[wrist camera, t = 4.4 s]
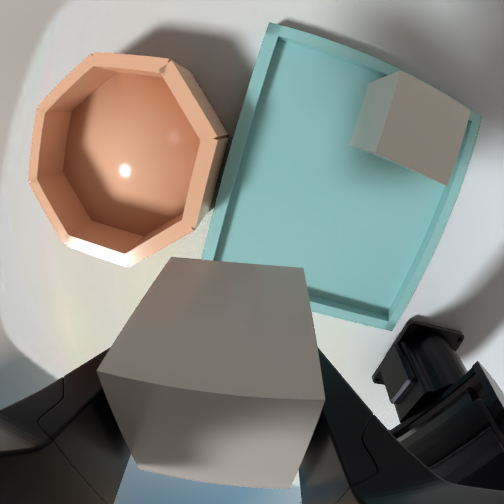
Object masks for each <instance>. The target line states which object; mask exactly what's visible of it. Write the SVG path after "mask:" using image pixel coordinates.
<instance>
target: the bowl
mask: <svg viewBox="0 0 504 504" xmlns="http://www.w3.org/2000/svg"><path fill="white" fill-rule="evenodd" d="M38 106H39V108H37V111H36V117H35V123H34V130H33V137H32V145H31V155H30V166H29V180H28V181H31V182H30V183H29V184H30V186H31V188H32V190H33V192H34V194H35V196H36V198H37V200H38V201H39V203H40V205H41V207H42V209H43V211H44V212H45V214H46V216H47V218H48V219H49V221H50V223H51V224H52V226H53V228H54V230H55V231H56V233H57V235H58V236H59V238H60V239H61V241H62V243H65V246H68V247H71V248H73V249H76V250H79V251H82V252H85V253H87V254H90V255H93V256H96V257H99V258H101V259H104V260H107V261H110V262H113V263H116V264H119V265H122V266H125V267H128V266H130V267H131V266H133V265H135V264H136V263H138V262H140V261H142V260H143V259H145V258H147V257H148V256H150V255H152V254H154V253H155V252H157V251H159V250H161V249H162V248H164V247H166V246H168V245H169V244H171V243H173V242H175V241H177V240H178V239H180V238H182V237H184V236H186V235H187V234H189V233H191V232H193V231H194V230H195V229H196V227H197V226H198V225H199V223H200V222H201V221H202V219H203V218H204V217H205V215H206V214H207V213H208V211H209V210H210V206H211V202H212V198H213V194H214V190H215V186H216V183H217V179H218V175H219V171H220V167H221V164H222V160H223V156H224V153H225V149H226V145H227V142H228V137H225V136H227V135H228V133H227V131H226V130H225V128H224V126H223V125H222V123H221V121H220V120H219V118H218V116H217V115H216V113H215V111H214V109H213V108H212V106H211V104H210V103H209V101H208V99H207V98H206V96H205V94H204V93H203V91H202V90H201V88H200V86H199V85H198V83H197V81H196V80H195V78H194V76H193V75H192V73H191V72H190V71H189V70H187V69H186V68H184V67H182V66H181V65H179V64H177V63H176V62H174V61H172V60H170V59H167V58H160V57H151V56H141V55H130V54H116V53H93V54H90V55H89V56H88V57H87V58H85V59H84V60H83V61H82V62H81V63H80V64H79V65H78V66H77V67H76V68H74V69H73V70H72V71H71V72H70V73H69V74H68V75H67V76H66V77H65V78H64V79H63V80H62V81H61V82H60V83H59V84H58V85H57V86H56V87H55V88H54V89H53V90H52V91H51V92H50V93H49V94H48V95H47V96H46V98H45V99H44V100H43V101H42V102H41V103H40V104H39V105H38Z"/></svg>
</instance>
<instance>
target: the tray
mask: <svg viewBox="0 0 504 504" xmlns="http://www.w3.org/2000/svg"><path fill="white" fill-rule="evenodd" d="M400 70H401V69H399V68H397V67H395V66H393V65H390V64H388V63H386V62H384V61H382V60H379V59H377V58H375V57H373V56H370V55H368V54H365V53H363V52H360V51H358V50H355V49H353V48H350V47H348V46H345V45H342V44H340V43H337V42H334V41H331V40H328V39H325V38H322V37H319V36H316V35H313V34H310V33H307V32H303V31H300V30H296V29H293V28H289V27H286V26H282V25H278V24H274V23H270V22H269V24H268V27H267V30H266V33H265V36H264V39H263V42H262V45H261V48H260V51H259V54H258V57H257V61H256V64H255V67H254V70H253V73H252V76H251V80H250V83H249V86H248V89H247V93H246V96H245V99H244V103H243V106H242V109H241V113H240V116H239V119H238V123H237V126H236V130H235V133H234V137H233V140H232V144H231V147H230V151H229V155H228V158H227V162H226V165H225V169H224V173H223V177H222V180H221V184H220V188H219V192H218V195H217V199H216V203H215V207H214V211H213V215H212V219H211V223H210V227H209V231H208V235H207V239H206V243H205V247H204V252H203V256H202V260H213V261H225V262H237V263H249V264H262V265H274V266H287V267H300V268H304V273H305V279H306V284H307V289H308V295H309V301H310V306H311V311H312V312H316V313H320V314H324V315H328V316H332V317H336V318H340V319H344V320H348V321H352V322H356V323H360V324H364V325H368V326H372V327H376V328H381V329H385V330H389V331H392V330H393V328H394V327H395V325H396V323H397V322H398V320H399V318H400V316H401V315H402V313H403V311H404V309H405V308H406V306H407V304H408V302H409V300H410V299H411V297H412V295H413V293H414V291H415V289H416V287H417V285H418V283H419V281H420V279H421V277H422V276H423V274H424V271H425V269H426V267H427V265H428V263H429V261H430V259H431V257H432V255H433V253H434V251H435V248H436V246H437V244H438V242H439V240H440V237H441V235H442V233H443V230H444V228H445V226H446V223H447V221H448V218H449V216H450V214H451V211H452V208H453V206H454V203H455V201H456V198H457V195H458V193H459V190H460V187H461V184H462V182H463V179H464V176H465V173H466V170H467V167H468V164H469V161H470V158H471V154H472V151H473V148H474V144H475V141H476V137H477V134H478V130H479V126H480V122H481V119H482V117H481V116H480V115H478V114H477V113H475V112H474V111H472V110H471V109H469V108H468V107H466V106H465V105H463V104H462V103H460V102H458V101H457V100H455V99H454V98H452V97H450V96H449V95H447V94H445V93H444V92H442V91H440V90H439V89H437V88H435V87H433V86H432V87H433V88H435V89H437V90H439V91H440V92H442V93H444V94H445V95H447V96H449V97H450V98H452V99H454V100H455V101H457V102H458V103H460V104H462V105H463V106H465V107H466V108H468V109H469V110H471V112H470V115H469V119H468V123H467V127H466V130H465V134H464V137H463V141H462V144H461V147H460V151H459V154H458V157H457V160H456V163H455V166H454V169H453V172H452V175H451V178H450V181H449V184H448V186H445V185H443V184H440V183H438V182H436V181H433V180H431V179H429V178H426V177H424V176H421V175H419V174H417V173H414V172H412V171H409V170H407V169H404V168H402V167H400V166H398V165H395V164H393V163H391V162H389V161H386V160H384V159H382V158H379V157H377V156H374V155H372V154H369V153H367V152H364V151H362V150H359V149H357V148H354V147H352V146H349V144H350V141H351V138H352V135H353V132H354V128H355V125H356V122H357V119H358V116H359V113H360V109H361V106H362V103H363V100H364V96H365V93H366V90H367V86H368V83H371V82H373V81H375V80H378V79H380V78H382V77H385V76H387V75H390V74H392V73H395V72H397V71H400ZM401 71H403V70H401ZM403 72H405V71H403ZM405 73H407V72H405ZM407 74H409V73H407ZM409 75H411V74H409ZM411 76H413V75H411ZM413 77H415V76H413ZM415 78H417V77H415ZM417 79H419V78H417ZM419 80H421V79H419ZM421 81H422V80H421ZM422 82H424V81H422ZM424 83H426V82H424ZM426 84H428V83H426ZM428 85H430V84H428ZM430 86H431V85H430Z"/></svg>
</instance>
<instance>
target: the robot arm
mask: <svg viewBox="0 0 504 504" xmlns="http://www.w3.org/2000/svg"><path fill="white" fill-rule="evenodd" d="M412 326H413V327H412ZM410 327H412V328H410ZM463 339H464V335H463V334H462V333H461V332H458V331H454V330H450V329H446V328H442V327H438V326H434V325H430V324H426V323H422V322H418V321H414V320H411V321H409V322H407V324H406V325H405V327H404V328H403V330H402V332H401V333H400V335H399V336H398V338H397V340H396V341H395V343H394V344H393V346H392V347H391V349H390V350H389V352H388V353H387V355H386V356H385V358H384V359H383V361H382V362H381V364H380V365H379V367H378V369H377V370H376V372H375V373H374V374H373V376H372V379H373V382H374V383H377V384H383V385H385V386H386V390H387V393H388V396H389V399H390V402H391V403H392V404H394V405H395V408H396V411H397V414H398V417H399V420H400V424H399V425H397V426H396V427H394V428H393V429H391V430H388V429H387V428H386V427H385V426H384V425H383V424H382V423H381V422H380V420H379V419H378V418H377V417H376V416H375V415H373V412H372V411H371V410H370V409H369V408H368V407H367V405H366V404H365V403H364V402H363V401H362V399H361V398H360V397H359V396H358V395H357V393H356V392H355V391H354V390H353V389H352V388H351V386H350V385H349V384H348V383H347V382H346V380H345V379H344V378H343V377H342V376H341V374H340V373H339V372H338V371H337V370H336V368H335V367H334V366H333V365H332V364H331V363H330V361H329V360H328V359H327V358H326V357H325V355H324V354H323V353H322V352H321V351H320V349H319V348H318V347H317V348H318V354H319V361H320V367H321V374H322V381H323V387H324V394H325V402H324V405H323V408H322V410H321V413H320V416H319V419H318V421H317V424H316V427H315V429H314V432H313V435H312V437H311V440H310V442H309V445H308V447H307V450H306V452H305V455H304V457H303V460H302V462H301V464H300V467H299V478H300V488H301V498H302V504H504V394H503V392H502V391H501V389H500V388H499V386H498V385H497V383H496V382H495V380H494V379H493V378H492V377H491V376H490V375H489V373H488V372H487V371H486V370H485V369H484V367H483V366H482V365H481V364H480V363H479V362H478V361H477V362H476V363H475V364H474V365H473V366H472V368H471V369H470V370H469V371H467V370H466V368H465V366H464V365H463V363H462V361H461V360H460V358H459V356H458V355H457V353H456V352H455V351H456V350H457V349H458V347H459V346H460V344H461V343H462V341H463ZM110 348H111V347H110ZM110 348H108V349H107V350H105V351H104V352H102V353H100V354H99V355H97V356H96V357H94V358H92V359H91V360H89V361H88V362H86V363H84V364H83V365H81V366H80V367H78V368H76V369H75V370H73V371H71V372H70V373H68V374H67V375H65V376H64V378H63V377H62V378H60V379H58V380H57V381H55V382H54V383H52V384H50V385H48V386H47V387H45V388H43V389H42V390H40V391H38V392H36V393H34V394H32V395H30V396H28V397H26V398H24V399H22V400H20V401H18V402H16V403H14V404H12V405H9V406H7V407H5V408H3V409H1V410H0V504H113V503H114V501H115V498H116V495H117V492H118V489H119V486H120V483H121V480H122V478H123V475H124V472H125V469H126V466H127V463H128V461H129V458H130V455H131V452H130V450H129V448H128V446H127V444H126V442H125V439H124V437H123V435H122V433H121V431H120V429H119V426H118V424H117V422H116V419H115V417H114V415H113V412H112V410H111V408H110V405H109V403H108V400H107V398H106V395H105V392H104V390H103V387H102V385H101V382H100V379H99V376H98V373H97V369H98V367H99V366H100V364H101V362H102V361H103V359H104V358H105V356H106V354H107V353H108V351H109V350H110Z"/></svg>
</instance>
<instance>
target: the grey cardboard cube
mask: <svg viewBox="0 0 504 504" xmlns="http://www.w3.org/2000/svg"><path fill="white" fill-rule="evenodd" d="M470 112H471V110H469V109H468V108H466V107H465V106H463V105H462V104H460V103H458V102H457V101H455V100H454V99H452V98H450V97H449V96H447V95H445V94H444V93H442V92H440V91H439V90H437V89H435V88H433V87H432V86H430V85H428V84H426V83H424V82H422V81H421V80H419V79H417V78H415V77H413V76H411V75H409V74H407V73H405V72H403V71H401V70H400V71H397V72H395V73H392V74H390V75H387V76H385V77H382V78H380V79H378V80H375V81H373V82H371V83H368V86H367V90H366V93H365V96H364V100H363V103H362V106H361V109H360V113H359V116H358V119H357V122H356V125H355V128H354V132H353V135H352V138H351V141H350V144H349V146H352V147H354V148H357V149H359V150H362V151H364V152H367V153H369V154H372V155H374V156H377V157H379V158H382V159H384V160H386V161H389V162H391V163H393V164H395V165H398V166H400V167H402V168H404V169H407V170H409V171H412V172H414V173H417V174H419V175H421V176H424V177H426V178H429V179H431V180H433V181H436V182H438V183H440V184H443V185H445V186H448V184H449V181H450V178H451V175H452V172H453V169H454V166H455V163H456V160H457V157H458V154H459V151H460V147H461V144H462V141H463V137H464V134H465V130H466V127H467V123H468V119H469V115H470Z"/></svg>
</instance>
